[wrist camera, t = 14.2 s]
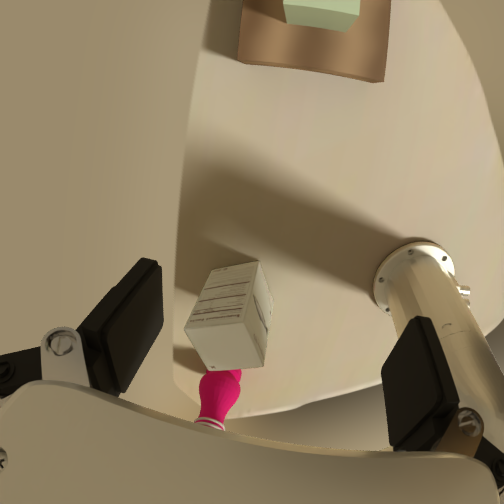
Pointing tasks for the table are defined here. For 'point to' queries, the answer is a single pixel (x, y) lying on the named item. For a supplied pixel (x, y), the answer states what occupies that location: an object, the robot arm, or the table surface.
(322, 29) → the walnut riser block
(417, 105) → the table surface
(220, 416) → the pepper mill
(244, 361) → the supplement box
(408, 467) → the robot arm
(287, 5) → the sage block
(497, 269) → the table surface
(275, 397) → the table surface
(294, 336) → the table surface
